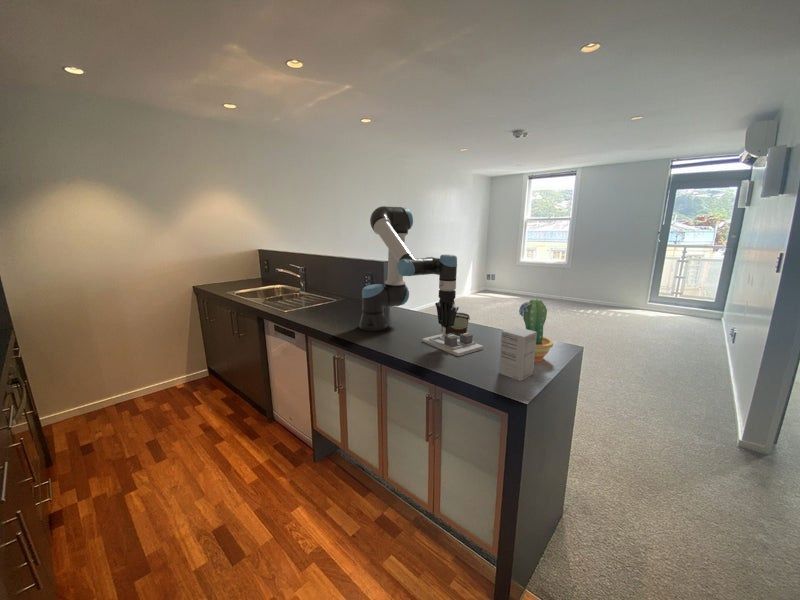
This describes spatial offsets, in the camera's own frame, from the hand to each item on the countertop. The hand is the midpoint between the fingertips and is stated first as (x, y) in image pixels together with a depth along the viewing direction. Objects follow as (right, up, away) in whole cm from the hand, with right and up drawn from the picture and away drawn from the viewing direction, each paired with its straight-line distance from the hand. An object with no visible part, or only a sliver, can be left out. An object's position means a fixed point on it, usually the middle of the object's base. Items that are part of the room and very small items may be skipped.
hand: (445, 339), depth 154 cm
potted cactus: (+35, -6, -12) cm, 38 cm away
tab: (+2, -2, -3) cm, 4 cm away
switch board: (+3, -3, +3) cm, 5 cm away
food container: (+10, +1, +23) cm, 26 cm away
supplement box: (+23, -10, -28) cm, 38 cm away
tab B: (+10, -2, +1) cm, 10 cm away
